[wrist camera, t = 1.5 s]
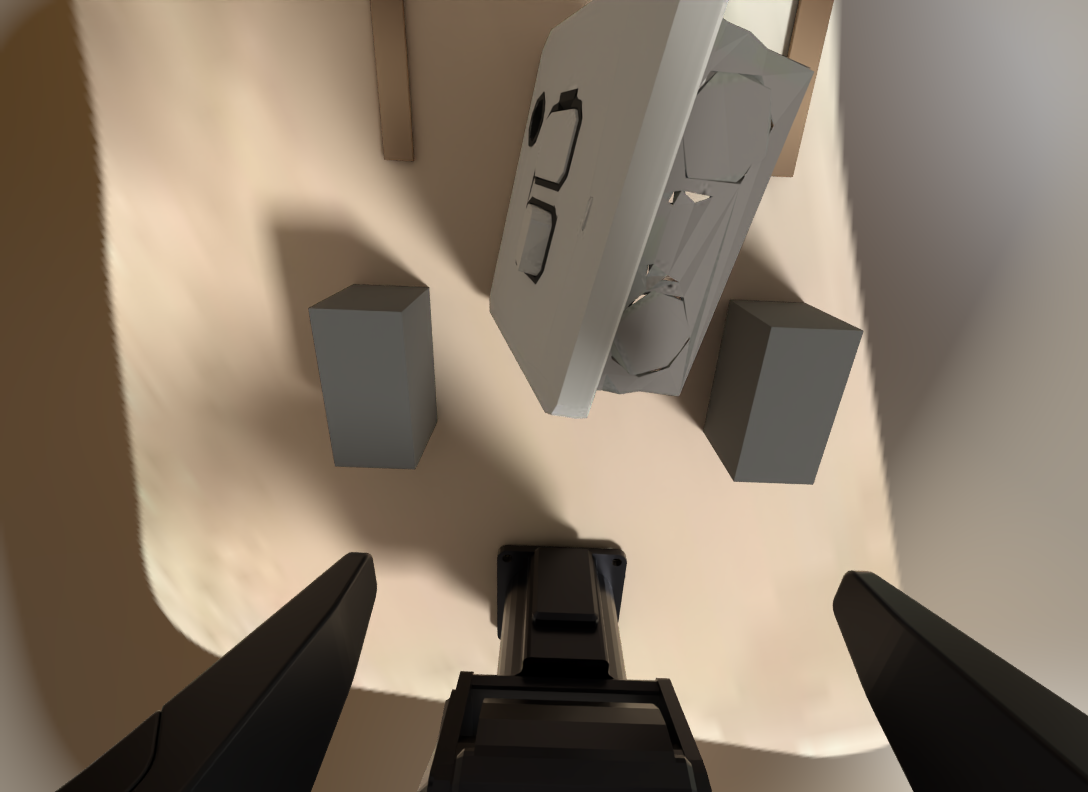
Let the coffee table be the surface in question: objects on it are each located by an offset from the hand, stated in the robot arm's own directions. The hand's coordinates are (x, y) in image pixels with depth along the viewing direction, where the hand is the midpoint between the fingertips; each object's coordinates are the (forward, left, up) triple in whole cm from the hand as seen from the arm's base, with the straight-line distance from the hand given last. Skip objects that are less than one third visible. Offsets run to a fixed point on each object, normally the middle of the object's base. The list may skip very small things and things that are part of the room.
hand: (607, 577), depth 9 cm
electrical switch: (+6, 0, -12) cm, 14 cm away
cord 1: (0, -8, -12) cm, 14 cm away
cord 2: (0, +7, -12) cm, 14 cm away
